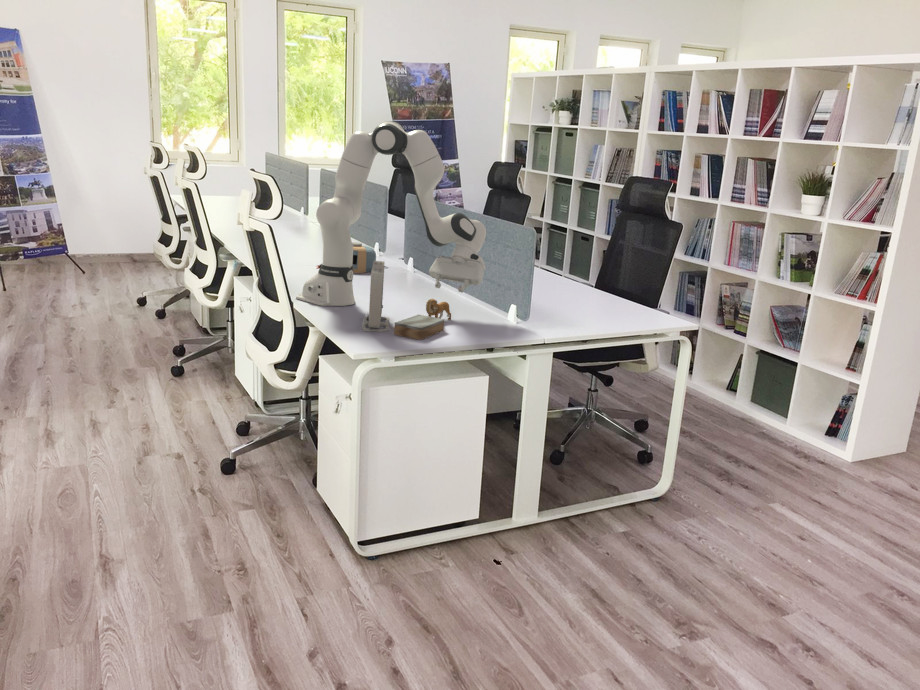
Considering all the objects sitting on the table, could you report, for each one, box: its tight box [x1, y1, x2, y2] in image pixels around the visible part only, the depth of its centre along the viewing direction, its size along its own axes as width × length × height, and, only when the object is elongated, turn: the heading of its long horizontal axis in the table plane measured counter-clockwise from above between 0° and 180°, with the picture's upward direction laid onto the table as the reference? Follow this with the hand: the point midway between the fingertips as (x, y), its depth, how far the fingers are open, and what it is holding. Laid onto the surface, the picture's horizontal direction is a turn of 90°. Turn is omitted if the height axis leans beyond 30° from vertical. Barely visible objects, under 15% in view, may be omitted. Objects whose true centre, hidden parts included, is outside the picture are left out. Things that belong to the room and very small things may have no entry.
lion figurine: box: [425, 298, 452, 321], centre depth 283 cm, size 15×5×9 cm, turn 153°
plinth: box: [393, 314, 446, 341], centre depth 265 cm, size 10×16×4 cm, turn 153°
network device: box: [361, 260, 390, 333], centre depth 269 cm, size 26×9×20 cm, turn 4°
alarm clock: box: [352, 241, 377, 274], centre depth 369 cm, size 19×20×12 cm
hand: (448, 289), depth 286 cm, fingers open, 8 cm apart
